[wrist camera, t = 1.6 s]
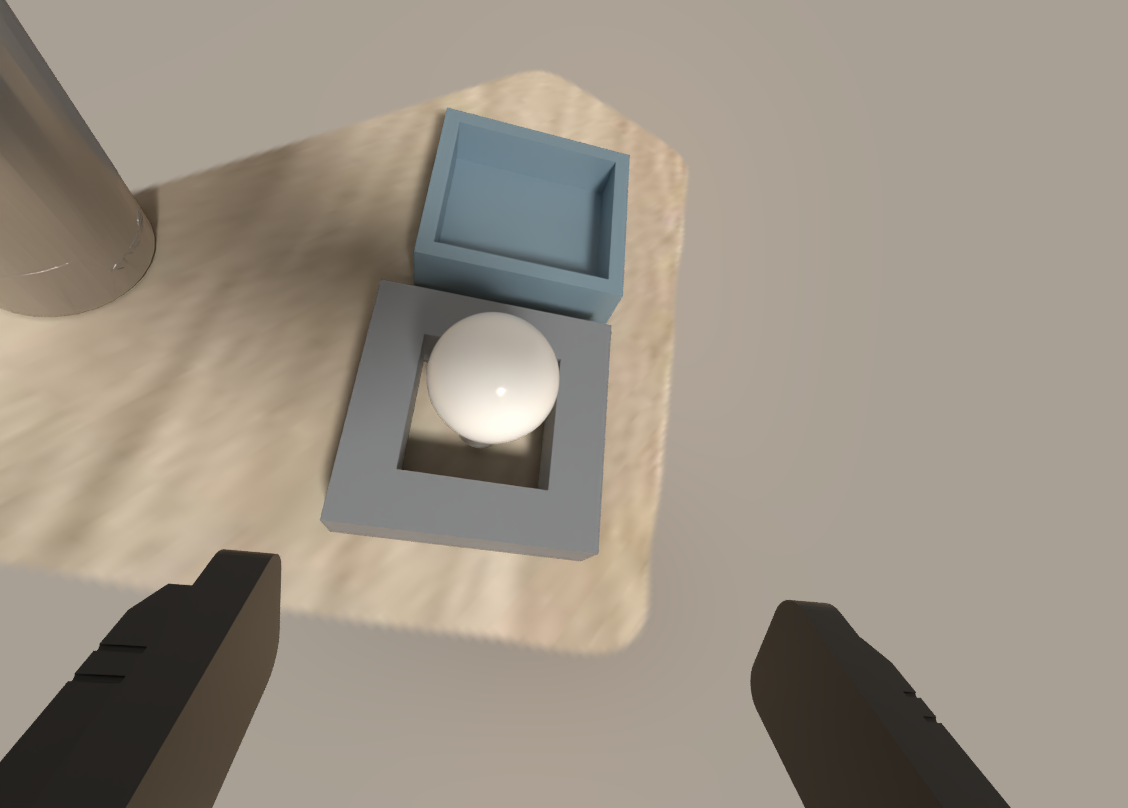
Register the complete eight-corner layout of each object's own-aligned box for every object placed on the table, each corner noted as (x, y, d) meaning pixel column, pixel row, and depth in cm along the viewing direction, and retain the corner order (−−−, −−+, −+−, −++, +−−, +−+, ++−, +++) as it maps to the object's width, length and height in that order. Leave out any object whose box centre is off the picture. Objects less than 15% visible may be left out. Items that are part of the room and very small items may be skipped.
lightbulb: (477, 363, 36) (499, 261, 26) (550, 430, 35) (601, 352, 25) (401, 429, 33) (394, 344, 23) (480, 503, 33) (506, 447, 23)
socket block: (330, 531, 30) (320, 519, 27) (384, 310, 36) (381, 279, 32) (580, 561, 33) (598, 553, 30) (595, 350, 38) (611, 325, 35)
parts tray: (414, 288, 37) (414, 251, 33) (444, 153, 41) (447, 107, 38) (603, 326, 39) (622, 295, 35) (612, 194, 44) (629, 155, 40)
